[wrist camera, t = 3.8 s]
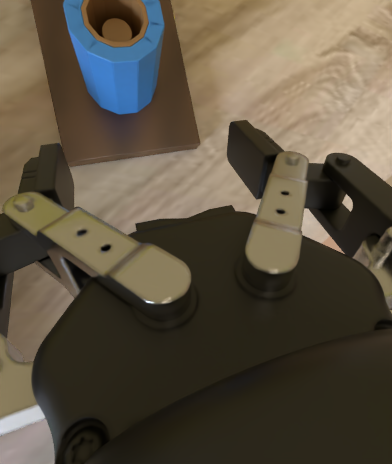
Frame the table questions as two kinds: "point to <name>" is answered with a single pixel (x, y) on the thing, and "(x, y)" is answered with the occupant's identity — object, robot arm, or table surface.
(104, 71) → the tape roll
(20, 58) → the table surface
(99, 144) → the tape rack
